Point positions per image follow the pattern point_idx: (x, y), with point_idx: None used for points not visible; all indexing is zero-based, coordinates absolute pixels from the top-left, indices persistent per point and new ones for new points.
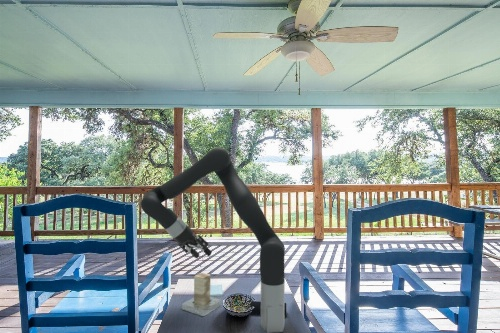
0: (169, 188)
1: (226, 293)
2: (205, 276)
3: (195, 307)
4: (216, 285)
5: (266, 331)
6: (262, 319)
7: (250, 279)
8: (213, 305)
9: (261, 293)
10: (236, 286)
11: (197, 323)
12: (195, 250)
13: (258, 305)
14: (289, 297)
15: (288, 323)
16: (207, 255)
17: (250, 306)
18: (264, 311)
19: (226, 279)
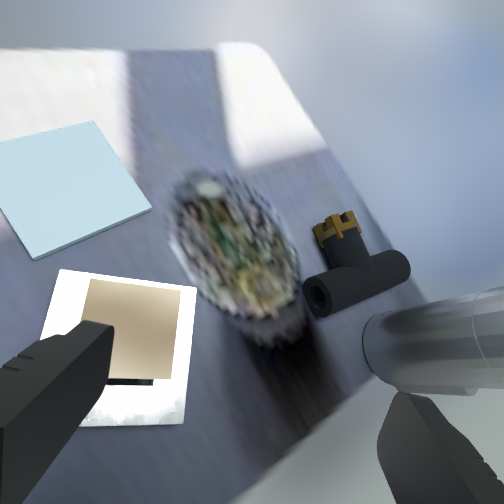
0: None
1: (152, 187)
2: (167, 338)
3: (125, 422)
4: (71, 132)
5: (395, 386)
6: (405, 380)
7: (178, 57)
8: (189, 346)
9: (482, 374)
10: (158, 120)
11: (186, 490)
12: (40, 393)
13: (352, 298)
14: (341, 169)
15: None
16: (387, 473)
17: (332, 311)
18: (438, 385)
19: (77, 58)
